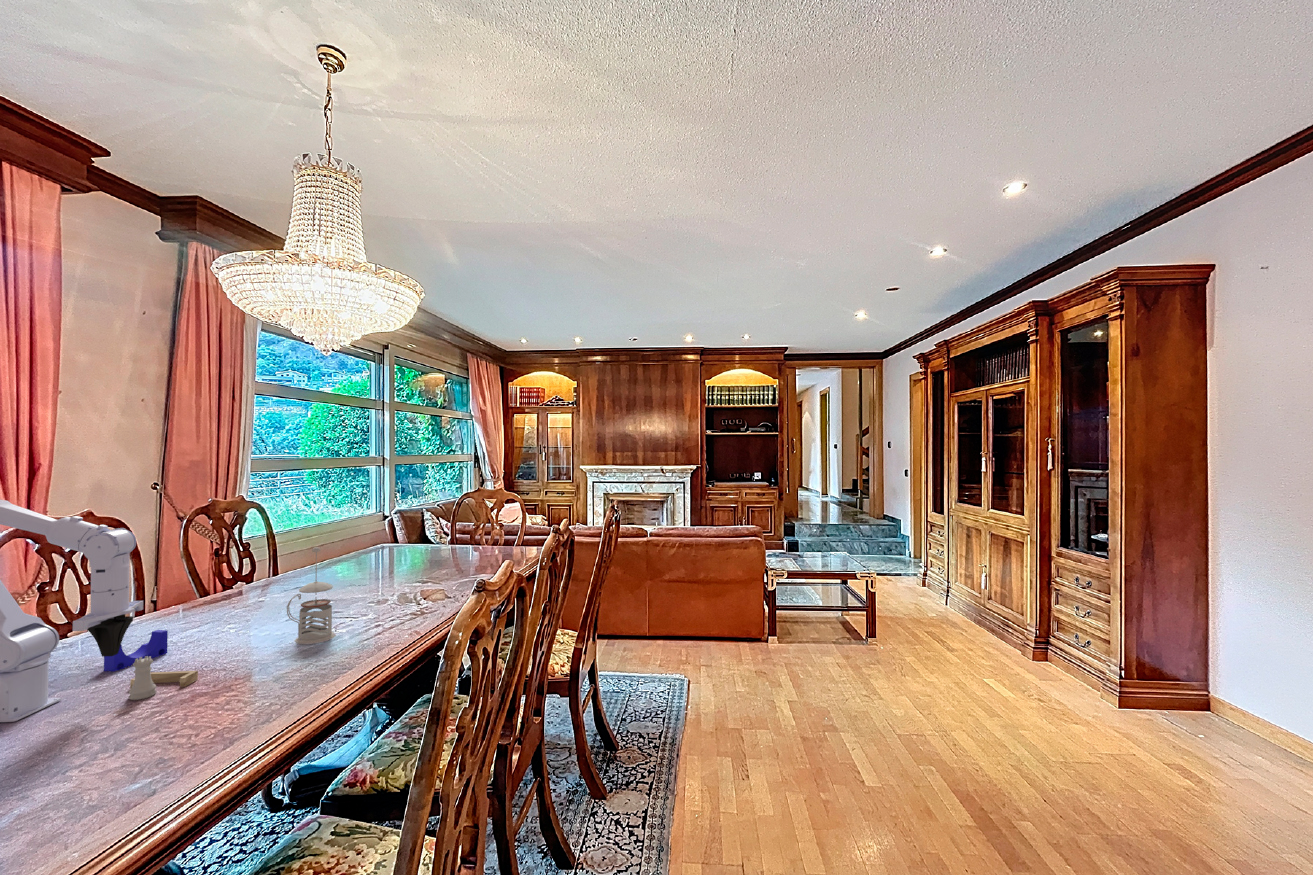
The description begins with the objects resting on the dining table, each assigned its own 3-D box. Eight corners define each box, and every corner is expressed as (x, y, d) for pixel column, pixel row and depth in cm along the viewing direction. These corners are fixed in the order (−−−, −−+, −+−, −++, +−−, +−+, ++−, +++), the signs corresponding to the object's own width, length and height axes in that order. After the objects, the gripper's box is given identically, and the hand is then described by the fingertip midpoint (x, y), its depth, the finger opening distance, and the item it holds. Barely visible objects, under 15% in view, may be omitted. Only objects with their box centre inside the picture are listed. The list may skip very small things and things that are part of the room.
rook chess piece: (154, 689, 122) (154, 652, 122) (158, 695, 119) (159, 657, 119) (126, 696, 118) (126, 658, 118) (130, 703, 115) (130, 663, 115)
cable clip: (152, 652, 144) (153, 629, 144) (167, 653, 143) (167, 630, 143) (98, 671, 132) (99, 645, 132) (114, 672, 132) (114, 646, 132)
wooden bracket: (184, 686, 123) (184, 677, 123) (130, 689, 122) (130, 679, 122) (197, 679, 127) (197, 670, 127) (145, 681, 126) (145, 672, 126)
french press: (332, 641, 152) (333, 548, 152) (282, 646, 148) (283, 551, 148) (338, 630, 161) (339, 543, 162) (291, 635, 157) (292, 545, 157)
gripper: (101, 597, 109) (100, 667, 109) (158, 579, 123) (158, 641, 123) (60, 598, 108) (60, 669, 108) (123, 581, 123) (122, 643, 122)
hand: (109, 655), depth 115 cm, fingers closed
